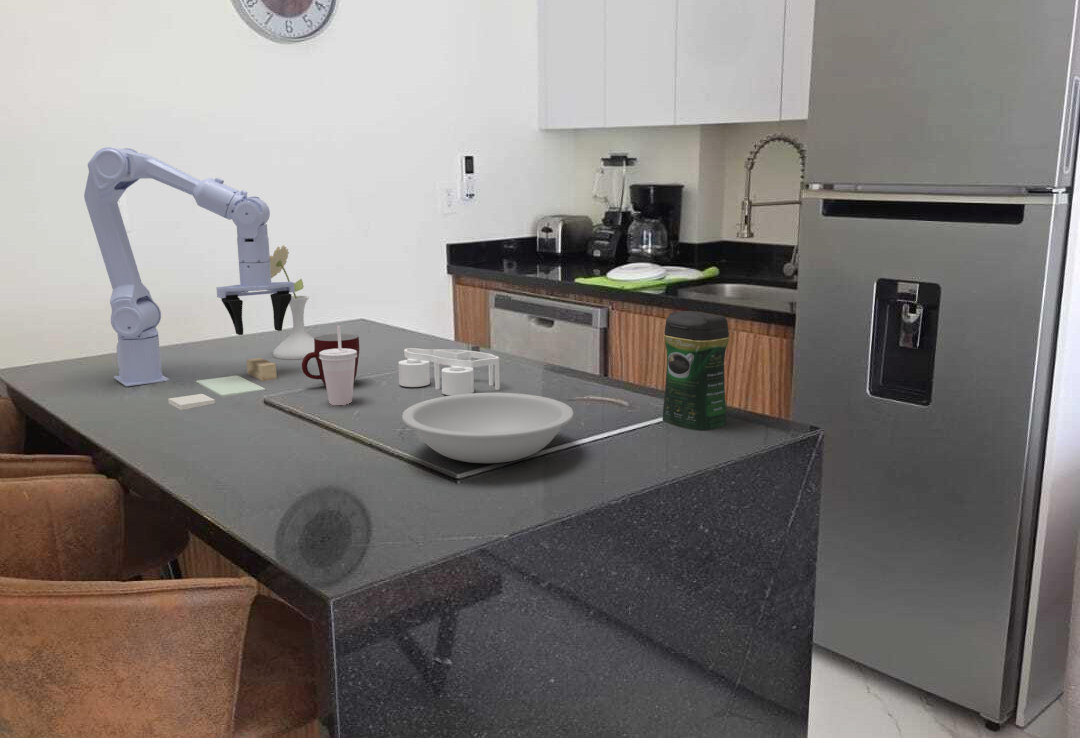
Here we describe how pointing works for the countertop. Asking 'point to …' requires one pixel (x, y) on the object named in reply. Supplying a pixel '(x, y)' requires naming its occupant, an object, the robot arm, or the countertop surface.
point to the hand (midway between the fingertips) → (259, 332)
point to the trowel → (261, 369)
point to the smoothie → (339, 372)
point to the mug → (330, 343)
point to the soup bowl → (488, 425)
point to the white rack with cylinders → (446, 369)
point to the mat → (230, 386)
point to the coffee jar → (695, 370)
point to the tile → (191, 401)
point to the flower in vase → (299, 339)
